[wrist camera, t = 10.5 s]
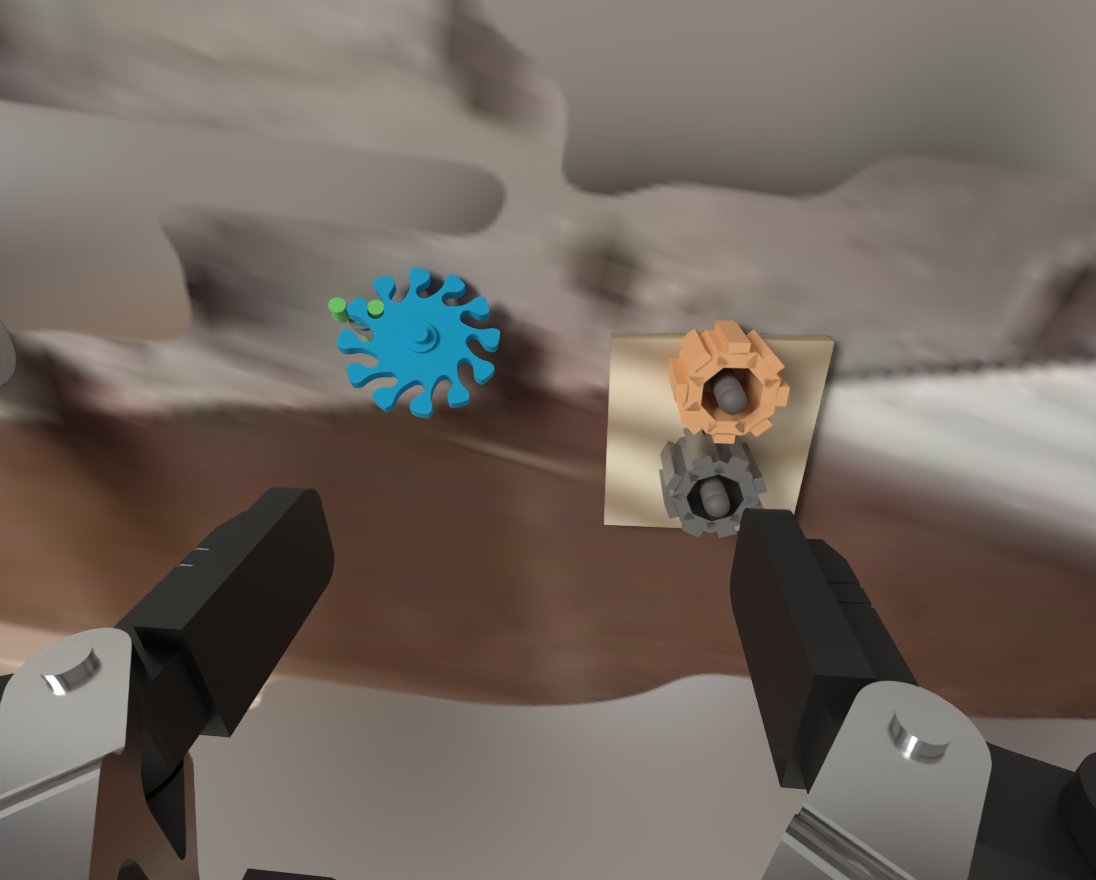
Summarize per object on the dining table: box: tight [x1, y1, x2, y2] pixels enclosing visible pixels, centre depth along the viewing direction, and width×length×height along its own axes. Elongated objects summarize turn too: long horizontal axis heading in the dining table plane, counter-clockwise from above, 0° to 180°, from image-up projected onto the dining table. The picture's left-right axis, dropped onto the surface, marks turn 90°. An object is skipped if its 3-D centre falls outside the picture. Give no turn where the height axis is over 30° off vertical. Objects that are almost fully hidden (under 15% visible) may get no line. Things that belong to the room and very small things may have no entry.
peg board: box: [604, 333, 835, 531], centre depth 37 cm, size 15×14×7 cm
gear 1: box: [668, 320, 790, 444], centre depth 34 cm, size 6×6×4 cm
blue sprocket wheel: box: [329, 268, 500, 418], centre depth 37 cm, size 11×6×10 cm
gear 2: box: [659, 428, 767, 538], centre depth 38 cm, size 6×6×4 cm
